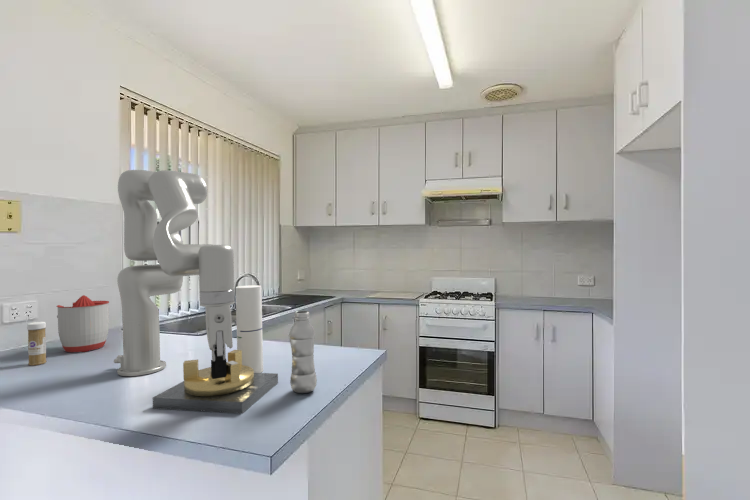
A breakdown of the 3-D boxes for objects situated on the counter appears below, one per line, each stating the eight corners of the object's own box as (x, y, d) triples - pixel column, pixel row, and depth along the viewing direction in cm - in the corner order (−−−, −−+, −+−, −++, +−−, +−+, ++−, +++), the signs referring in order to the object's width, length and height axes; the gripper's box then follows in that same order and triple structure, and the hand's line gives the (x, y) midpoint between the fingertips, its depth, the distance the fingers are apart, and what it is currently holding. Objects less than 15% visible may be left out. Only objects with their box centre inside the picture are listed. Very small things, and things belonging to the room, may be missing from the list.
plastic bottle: (305, 398, 93) (303, 315, 92) (284, 393, 96) (282, 312, 96) (322, 389, 98) (320, 310, 98) (302, 385, 102) (300, 309, 101)
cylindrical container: (255, 376, 109) (253, 288, 109) (232, 375, 111) (230, 287, 110) (267, 368, 116) (265, 285, 116) (245, 367, 118) (244, 285, 117)
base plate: (152, 408, 88) (152, 395, 88) (203, 379, 107) (202, 369, 107) (242, 413, 85) (242, 400, 85) (278, 382, 104) (277, 372, 103)
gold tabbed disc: (201, 401, 85) (200, 372, 85) (173, 384, 96) (173, 358, 95) (266, 382, 96) (265, 356, 96) (235, 368, 107) (234, 345, 107)
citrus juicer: (79, 343, 152) (78, 292, 152) (120, 343, 150) (119, 292, 150) (41, 354, 137) (39, 298, 136) (86, 355, 135) (85, 298, 135)
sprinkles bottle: (25, 366, 123) (24, 324, 122) (31, 362, 127) (30, 322, 127) (43, 364, 124) (42, 323, 124) (49, 361, 128) (48, 320, 128)
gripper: (238, 300, 84) (240, 384, 85) (231, 293, 98) (232, 365, 98) (200, 303, 81) (202, 390, 81) (198, 295, 95) (200, 370, 95)
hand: (219, 376), depth 90 cm, fingers closed
